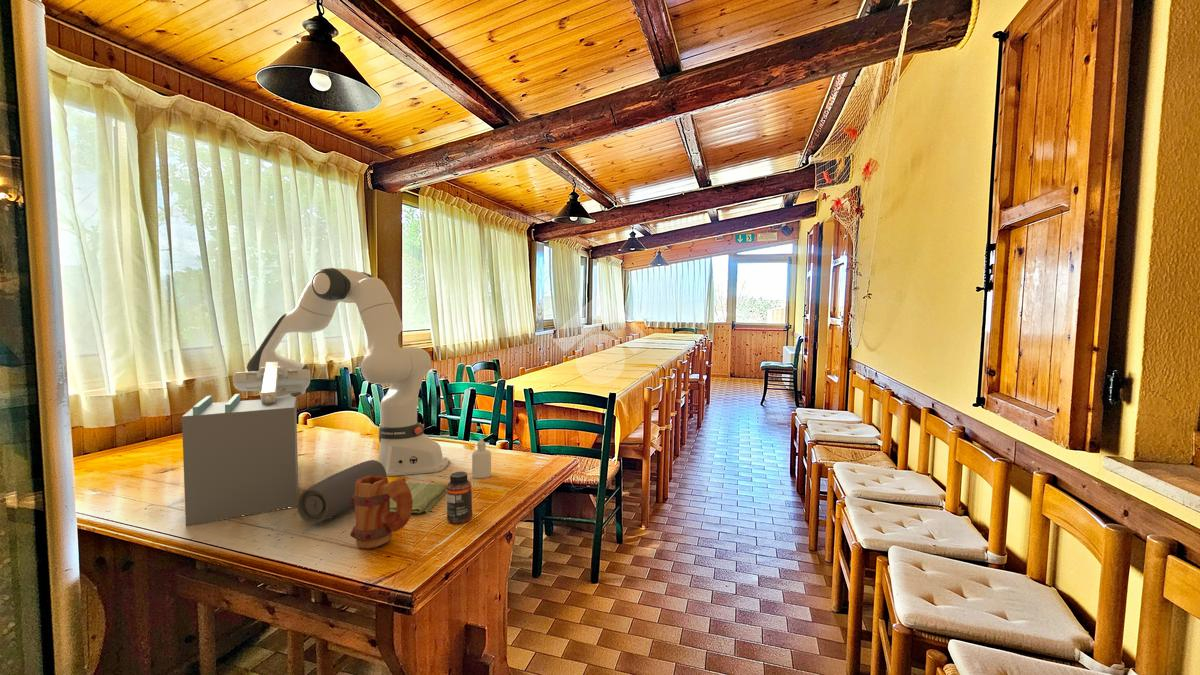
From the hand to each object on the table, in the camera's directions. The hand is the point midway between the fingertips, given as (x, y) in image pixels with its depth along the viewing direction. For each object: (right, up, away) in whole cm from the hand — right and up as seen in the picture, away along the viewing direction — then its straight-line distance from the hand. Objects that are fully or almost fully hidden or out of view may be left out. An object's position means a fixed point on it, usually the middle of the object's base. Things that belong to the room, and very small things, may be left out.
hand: (271, 369), depth 146 cm
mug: (+53, -35, -43) cm, 77 cm away
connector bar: (+5, -5, -7) cm, 10 cm away
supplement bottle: (+66, -35, -29) cm, 80 cm away
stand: (+8, -34, -20) cm, 40 cm away
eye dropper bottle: (+64, -33, +2) cm, 72 cm away
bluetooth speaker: (+35, -35, -23) cm, 55 cm away
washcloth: (+51, -35, -18) cm, 64 cm away
